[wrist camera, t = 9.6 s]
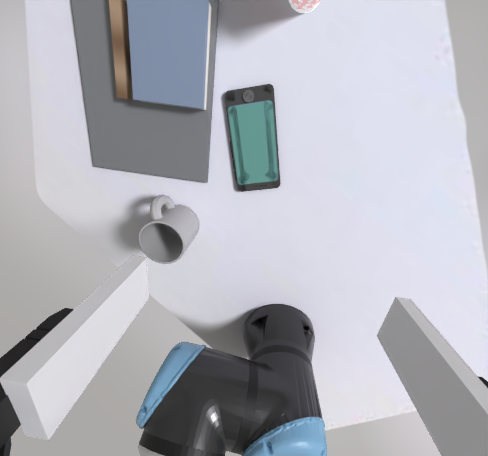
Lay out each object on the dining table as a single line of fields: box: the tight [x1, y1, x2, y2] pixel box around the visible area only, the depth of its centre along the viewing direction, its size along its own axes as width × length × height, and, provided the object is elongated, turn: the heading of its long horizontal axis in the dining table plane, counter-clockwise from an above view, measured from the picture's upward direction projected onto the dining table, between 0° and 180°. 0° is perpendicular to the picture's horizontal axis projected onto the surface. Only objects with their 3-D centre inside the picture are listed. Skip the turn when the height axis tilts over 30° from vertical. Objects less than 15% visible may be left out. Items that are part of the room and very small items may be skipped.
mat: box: [71, 0, 219, 183], centre depth 35 cm, size 24×20×1 cm
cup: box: [138, 195, 199, 264], centre depth 38 cm, size 7×10×9 cm
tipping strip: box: [109, 0, 132, 100], centre depth 32 cm, size 12×2×2 cm, turn 173°
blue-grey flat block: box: [127, 0, 211, 110], centre depth 31 cm, size 12×2×10 cm
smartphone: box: [225, 84, 280, 192], centre depth 36 cm, size 7×1×15 cm
